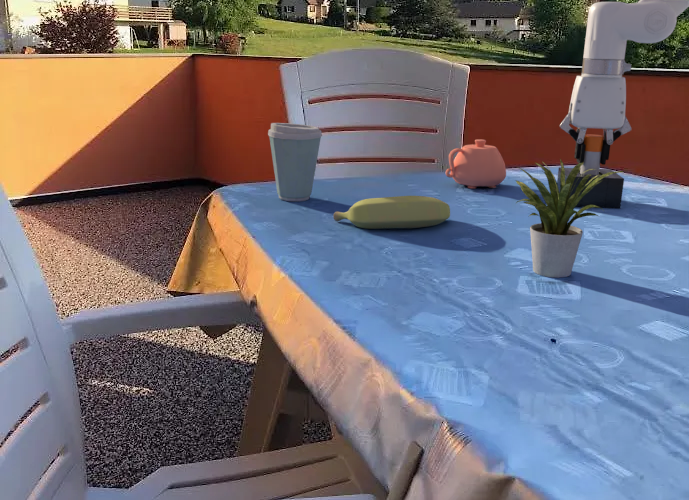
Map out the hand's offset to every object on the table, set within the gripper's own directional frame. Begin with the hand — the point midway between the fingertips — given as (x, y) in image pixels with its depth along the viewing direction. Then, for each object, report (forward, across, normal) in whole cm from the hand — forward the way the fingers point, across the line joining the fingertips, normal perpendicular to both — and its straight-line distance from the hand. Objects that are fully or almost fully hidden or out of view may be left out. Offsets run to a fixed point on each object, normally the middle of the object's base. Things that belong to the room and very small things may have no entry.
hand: (590, 162), depth 143 cm
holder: (+8, 0, 0) cm, 8 cm away
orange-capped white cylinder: (+3, 0, 0) cm, 3 cm away
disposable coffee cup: (+9, +59, +8) cm, 60 cm away
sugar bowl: (+8, +22, -13) cm, 27 cm away
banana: (+9, +39, +25) cm, 47 cm away
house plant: (+8, +14, +48) cm, 51 cm away
